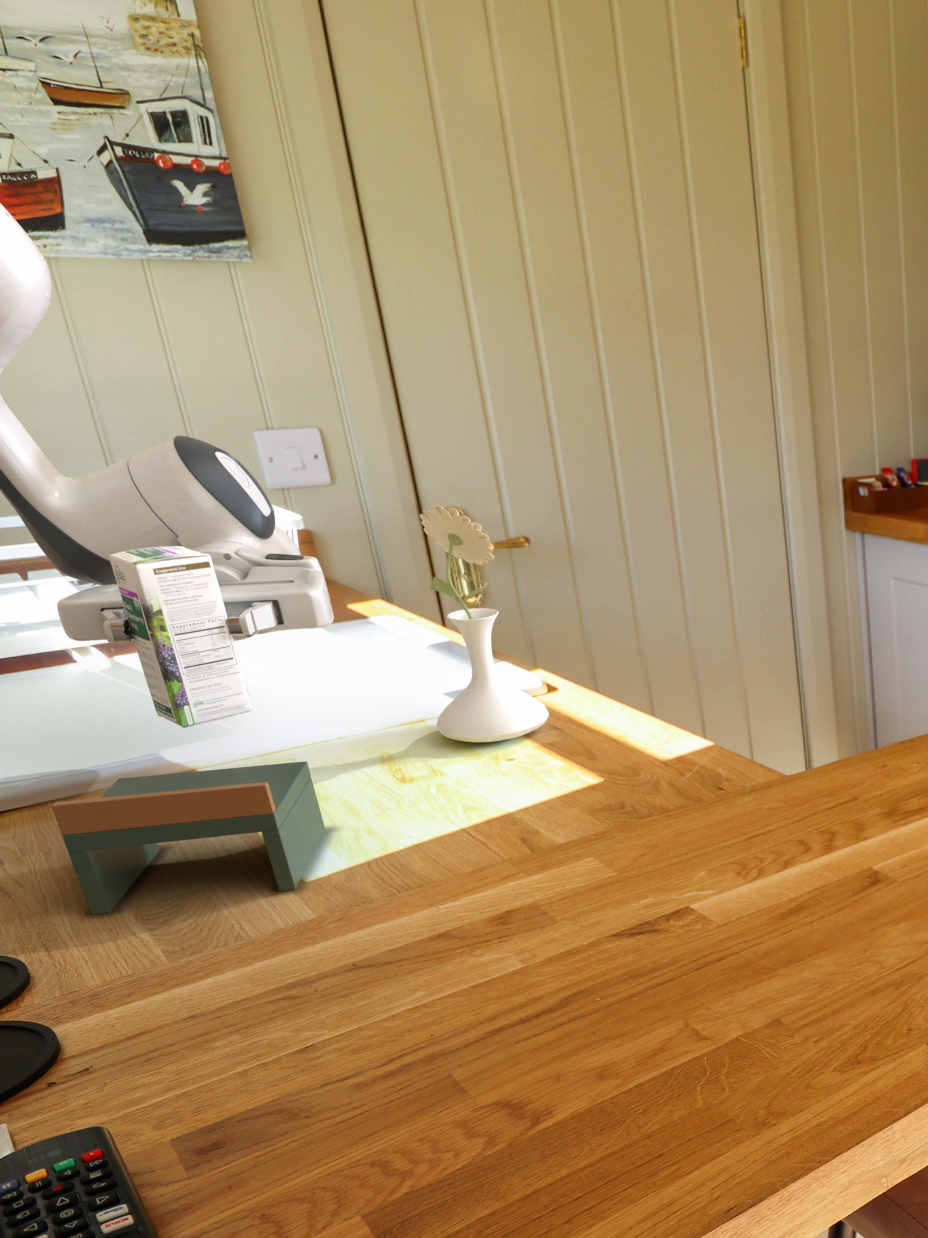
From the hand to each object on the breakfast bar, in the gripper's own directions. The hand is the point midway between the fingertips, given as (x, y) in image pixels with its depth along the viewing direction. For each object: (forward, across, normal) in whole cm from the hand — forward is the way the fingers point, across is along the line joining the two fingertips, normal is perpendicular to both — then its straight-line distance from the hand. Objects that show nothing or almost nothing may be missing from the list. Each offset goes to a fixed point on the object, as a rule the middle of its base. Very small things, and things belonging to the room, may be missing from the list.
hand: (178, 629), depth 100 cm
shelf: (+10, +1, +18) cm, 21 cm away
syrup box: (-1, 0, +8) cm, 8 cm away
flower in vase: (-20, +20, +19) cm, 34 cm away
